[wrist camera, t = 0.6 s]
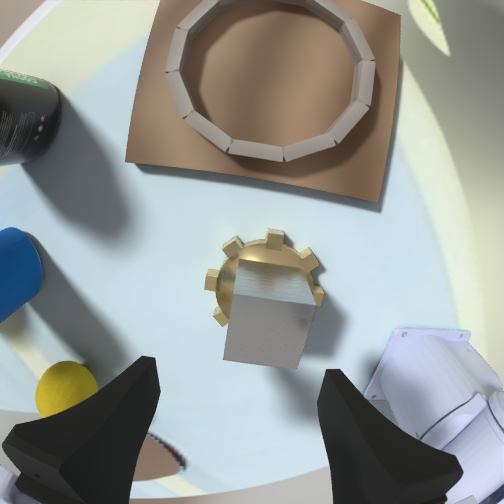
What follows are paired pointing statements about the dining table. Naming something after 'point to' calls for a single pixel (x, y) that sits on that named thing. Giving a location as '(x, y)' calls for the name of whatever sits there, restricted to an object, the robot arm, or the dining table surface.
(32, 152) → the supplement bottle
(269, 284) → the gear
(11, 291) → the beverage can
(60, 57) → the dining table surface
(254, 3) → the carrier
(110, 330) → the dining table surface
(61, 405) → the lemon
